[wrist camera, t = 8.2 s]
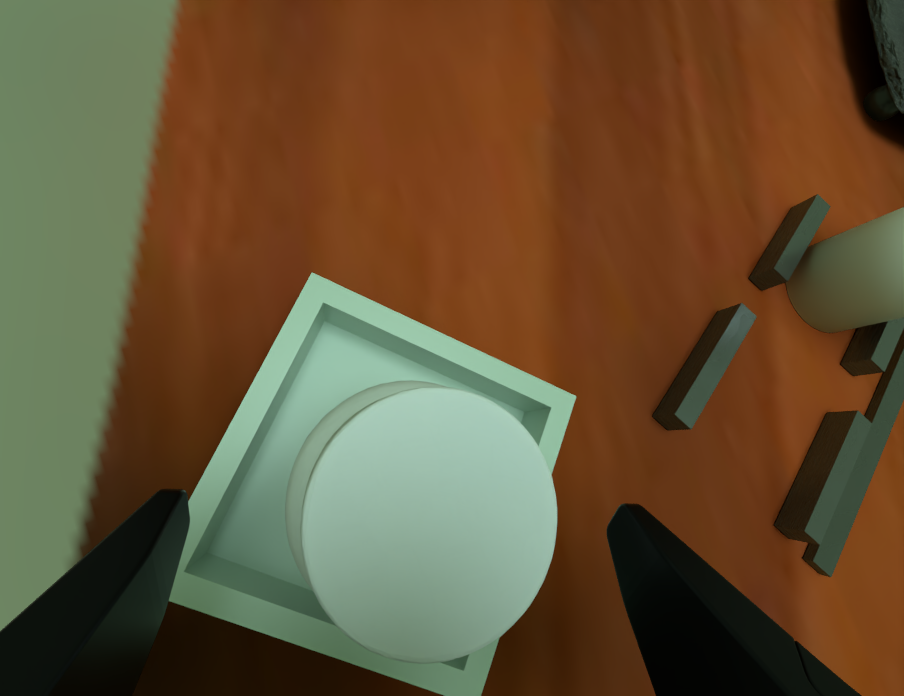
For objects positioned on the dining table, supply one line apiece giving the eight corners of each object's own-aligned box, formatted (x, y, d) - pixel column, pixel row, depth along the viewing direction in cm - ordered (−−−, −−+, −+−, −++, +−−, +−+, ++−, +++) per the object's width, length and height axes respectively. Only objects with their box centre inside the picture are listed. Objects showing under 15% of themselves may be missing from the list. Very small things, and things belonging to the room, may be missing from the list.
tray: (452, 662, 17) (477, 706, 14) (175, 564, 16) (140, 591, 13) (541, 403, 20) (576, 396, 17) (315, 299, 19) (311, 272, 16)
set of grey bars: (820, 574, 22) (854, 583, 21) (649, 421, 21) (671, 419, 20) (925, 322, 27) (957, 316, 26) (790, 194, 27) (816, 180, 25)
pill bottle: (268, 505, 16) (181, 586, 7) (361, 374, 18) (393, 295, 9) (403, 589, 17) (492, 771, 7) (480, 453, 19) (633, 461, 9)
